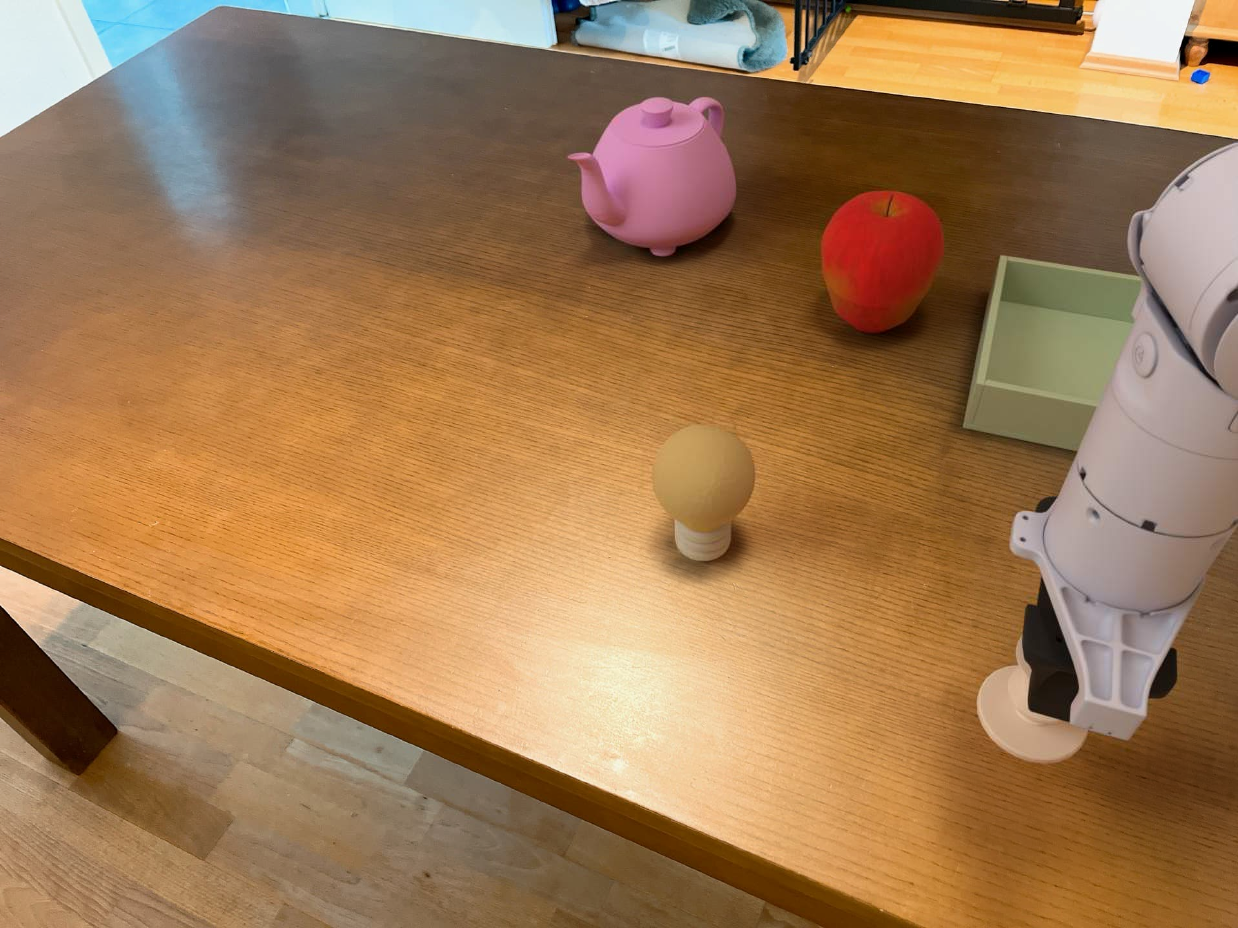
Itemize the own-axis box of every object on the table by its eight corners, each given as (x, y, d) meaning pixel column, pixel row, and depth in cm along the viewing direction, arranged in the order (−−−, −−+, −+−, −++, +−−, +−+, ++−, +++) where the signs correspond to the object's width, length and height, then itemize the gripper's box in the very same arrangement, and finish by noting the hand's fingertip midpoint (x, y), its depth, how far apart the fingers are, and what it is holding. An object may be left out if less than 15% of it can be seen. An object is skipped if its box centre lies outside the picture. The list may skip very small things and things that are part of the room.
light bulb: (683, 495, 65) (681, 392, 58) (765, 528, 63) (775, 425, 56) (638, 559, 62) (630, 458, 54) (724, 597, 59) (727, 496, 52)
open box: (1158, 328, 74) (1179, 282, 71) (1158, 468, 64) (1183, 423, 61) (987, 299, 78) (1000, 254, 75) (962, 428, 68) (976, 383, 65)
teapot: (636, 307, 80) (629, 181, 71) (528, 248, 88) (509, 127, 79) (778, 208, 89) (786, 86, 81) (669, 162, 97) (666, 46, 88)
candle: (979, 659, 49) (1030, 537, 41) (1085, 682, 47) (1158, 562, 40) (972, 748, 45) (1027, 634, 38) (1086, 776, 44) (1167, 664, 37)
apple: (931, 295, 79) (960, 168, 70) (921, 363, 73) (951, 233, 64) (822, 281, 81) (837, 155, 72) (804, 345, 76) (818, 217, 67)
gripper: (1056, 333, 39) (983, 533, 49) (1027, 606, 30) (945, 782, 40) (1243, 365, 37) (1128, 566, 47) (1273, 668, 28) (1122, 837, 38)
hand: (1055, 669), depth 43 cm, fingers closed on candle, 4 cm apart
